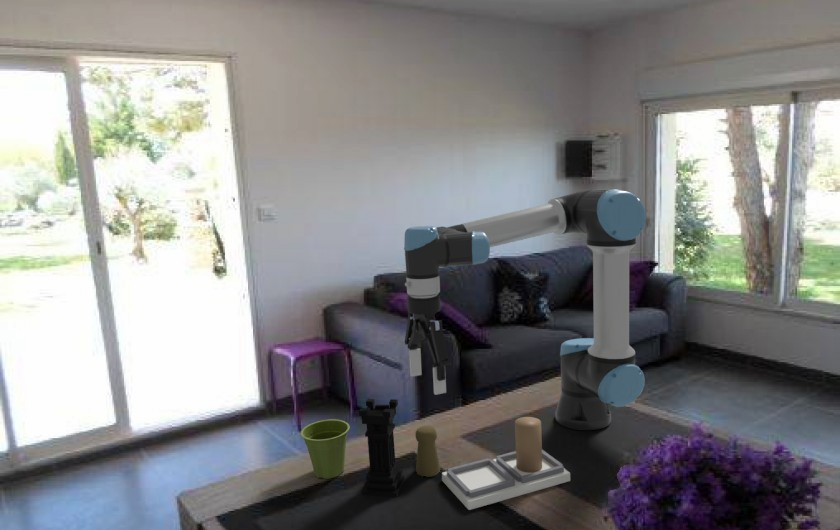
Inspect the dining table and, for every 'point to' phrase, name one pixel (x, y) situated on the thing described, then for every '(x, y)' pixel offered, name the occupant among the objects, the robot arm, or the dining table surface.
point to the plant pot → (326, 446)
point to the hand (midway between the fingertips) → (427, 384)
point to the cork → (427, 452)
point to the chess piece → (381, 449)
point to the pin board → (507, 470)
